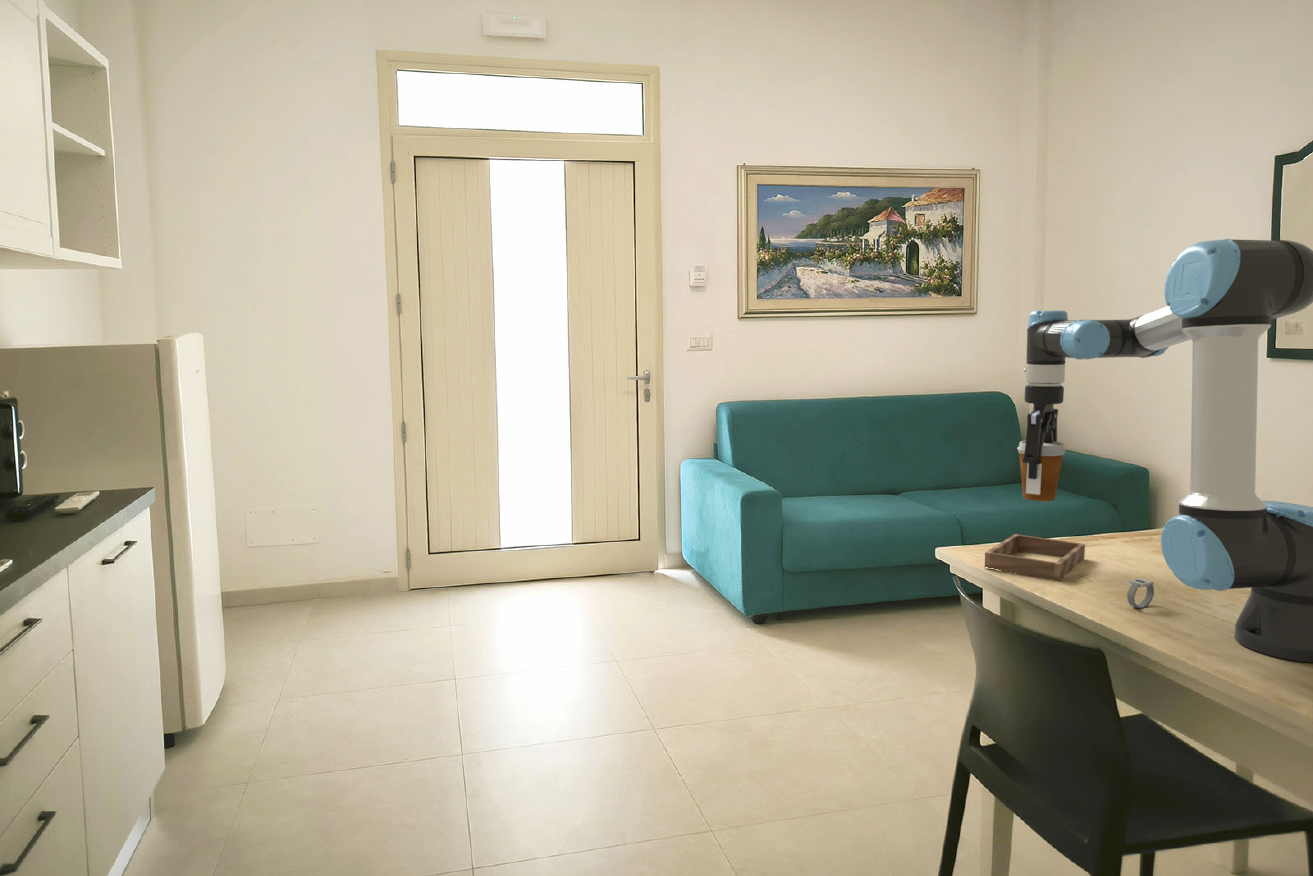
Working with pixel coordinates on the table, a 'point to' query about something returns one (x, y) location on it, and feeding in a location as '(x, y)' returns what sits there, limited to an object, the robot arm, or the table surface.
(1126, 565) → the table surface
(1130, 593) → the wristwatch
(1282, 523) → the robot arm
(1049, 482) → the disposable coffee cup
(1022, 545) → the rectangular wooden frame
